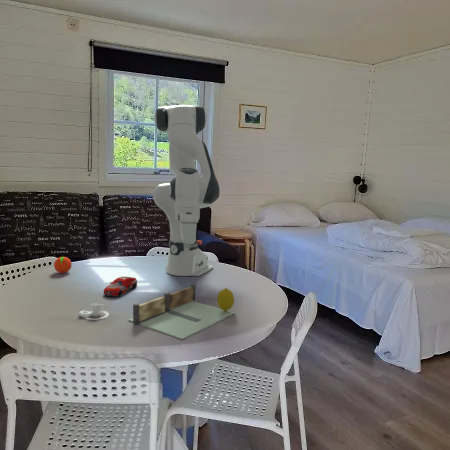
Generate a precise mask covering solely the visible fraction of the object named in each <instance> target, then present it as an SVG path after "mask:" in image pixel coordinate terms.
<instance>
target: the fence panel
mask: <svg viewBox="0 0 450 450" xmlns="http://www.w3.org/2000/svg"><path fill="white" fill-rule="evenodd" d="M196 289H197V285H196V284H194V283H193V284H191V285H190V286H188V287H186V288H185V287H184V288H183V289H180V290H177V291H174V292H172V293H169V294H170V309H172V308H175V307H177V306H180V305H182V304H185V303H187V302H190V301H195V300H196V295H197V294H196V293H197V292H196Z"/></svg>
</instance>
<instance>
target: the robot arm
mask: <svg viewBox="0 0 450 450" xmlns="http://www.w3.org/2000/svg"><path fill="white" fill-rule="evenodd" d="M153 120H154V121H153V122H154V123H155V126H156V129H157V130H158V131H160V132H162V133H163V132H164V133H167V138H168V142H169V143H168V144H169V145H168V157H169V161H168V163H169V170H170V172H171V173H172V174H173V175H174V176H175V177H174V178H172V180H170V182H165V183H160V184H158V185H156V186H155V188H154V190H153V193H152V198H153V202H154V204H155V205H156V206H157V207H158V208H159V209H160V210H162V211H163V212H164V214H165V215H166V217H167V219H168V223H169V233H170V235H169V237H170V238H169V241H168V249H169V251H168V256H167V263H166V265H165V273H167V274H168V275H172V276H175V277H177V276H179V277H189V276H190V277H191V276H192V277H193V276H194V277H199V276H201V275H203V274H205V273H207V272H210V270H213V269H214V265H212V264H209V259H208V256H207V254H206V253H204V251H202V250H201V249H200V248H199V245H200V246H202V244H203V240H201V239H200V240H199V239H197V238H196V236H197V223H199V220H200V213H201V211H200V210H201V209H203V208H208V207H210V206H211V205H212V204H213V203H215V202H217V200H218V199H219V198H220V193H221V192H220V190H221V189H220V184H219V182H218V179H217V177H216V175H215V170H214V166H213V164H212V160H211V157H210V153H209V150H208V147H207V145H206V142H204V141H202V140H201V139H200V138H199V135H198V134H199V133H200V132H202V131H203V130H204V129H205V127H206V125H207V121H208V117H207V112H206V110H205V108H204V107H203V106H200V105H189V104H180V105H179V104H178V105H168V106H165V105H163V106H158V107H157V108H156V110H155V113H154V117H153ZM196 161H197V162H198V163H199V167H200V170H201V175H202V176H200V173H199V172H200V171H199V170H197V166H196ZM196 239H197V240H196Z"/></svg>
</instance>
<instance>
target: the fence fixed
mask: <svg viewBox="0 0 450 450" xmlns="http://www.w3.org/2000/svg"><path fill="white" fill-rule="evenodd" d="M170 294H171V293H170V292H169V293H168V292H166V293H164V294H163V296H160V297H157V298H154V299H151V300H149V301H146V302H143V303H140V304H139V303H134V304H133V305H132V318H133V322H132V324H133V325H139V324H138V323H139V322H140V321H142V320H145V319H147V318H150V317H152V316H155V315H157V314H160V313H162V312H168V311H170Z"/></svg>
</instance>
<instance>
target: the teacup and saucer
mask: <svg viewBox="0 0 450 450" xmlns="http://www.w3.org/2000/svg"><path fill="white" fill-rule="evenodd" d="M102 307H104V308H103V310H102ZM105 309H106V306H105V304H102V303H101V302H98V301H97V302H93V303H91V304H90V311H88V310H80V311H79V312H78V315H79V316H80V317H82V318H84V319H86V320H90V321H94V320H95V321H97V320H98V321H99V320H103V319H106V318H108V317H109V316H110V313H109V312H108V311H106V310H105ZM101 314H105V315H104V316H102V317H100V315H101ZM91 315H92V317H96V318H90V317H91ZM97 317H98V318H97Z"/></svg>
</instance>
